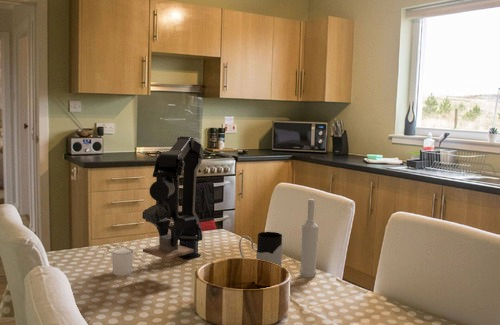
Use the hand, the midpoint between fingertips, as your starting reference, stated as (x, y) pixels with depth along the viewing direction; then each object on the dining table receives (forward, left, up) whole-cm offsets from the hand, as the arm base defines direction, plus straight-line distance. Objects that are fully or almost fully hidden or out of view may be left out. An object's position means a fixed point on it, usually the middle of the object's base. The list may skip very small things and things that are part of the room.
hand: (168, 245), depth 159 cm
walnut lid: (0, 0, -2) cm, 2 cm away
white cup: (+6, -15, -11) cm, 20 cm away
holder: (-19, +21, -11) cm, 30 cm away
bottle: (-34, +29, -11) cm, 46 cm away
